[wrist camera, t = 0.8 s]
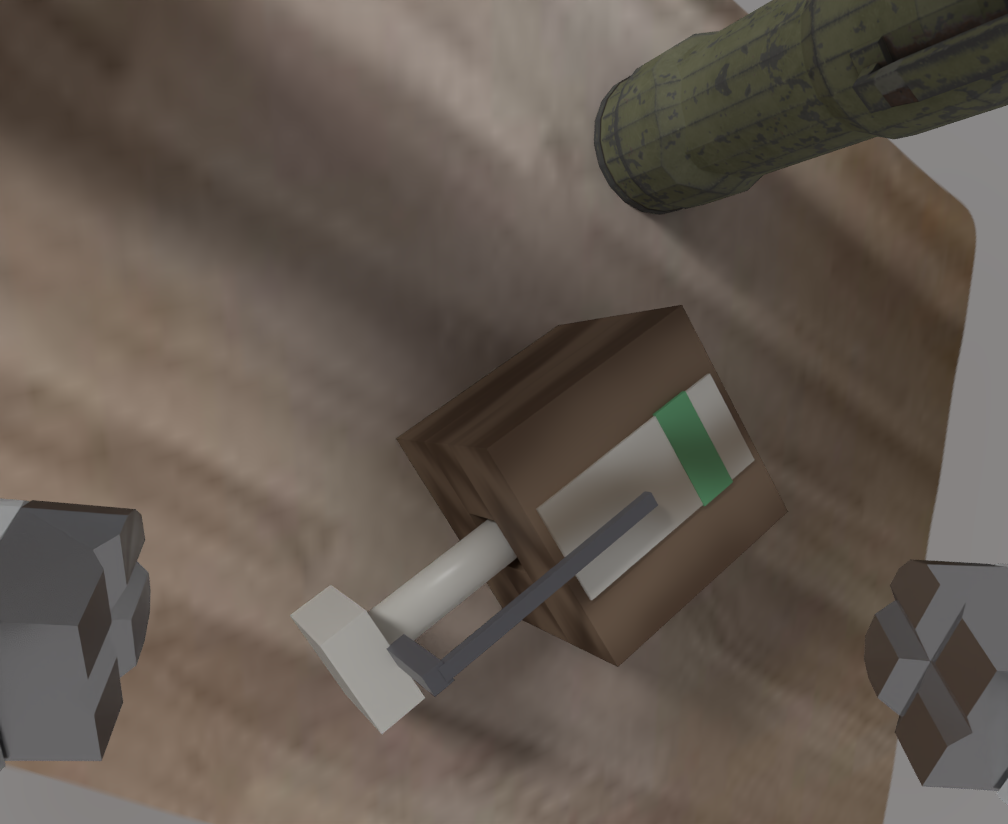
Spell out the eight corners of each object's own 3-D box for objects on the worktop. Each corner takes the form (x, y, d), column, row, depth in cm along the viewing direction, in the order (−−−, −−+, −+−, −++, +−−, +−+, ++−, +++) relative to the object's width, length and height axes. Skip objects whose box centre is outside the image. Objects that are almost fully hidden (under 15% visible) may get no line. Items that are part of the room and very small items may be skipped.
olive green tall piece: (744, 128, 59) (1522, -195, 27) (650, 261, 55) (1405, 73, 24) (657, 25, 56) (1418, -477, 24) (553, 160, 52) (1268, -210, 21)
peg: (289, 615, 43) (348, 675, 34) (536, 431, 49) (646, 438, 39) (345, 693, 44) (417, 773, 35) (579, 505, 50) (696, 529, 40)
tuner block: (396, 438, 48) (489, 448, 37) (558, 325, 53) (685, 304, 42) (504, 611, 51) (621, 668, 40) (650, 490, 56) (791, 512, 44)
